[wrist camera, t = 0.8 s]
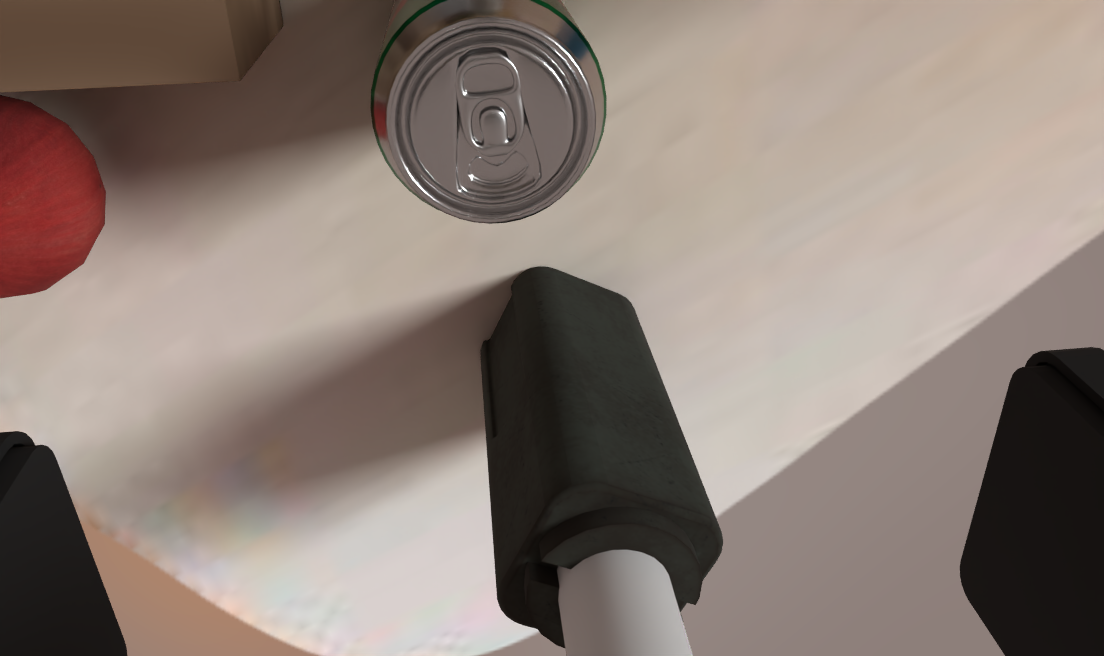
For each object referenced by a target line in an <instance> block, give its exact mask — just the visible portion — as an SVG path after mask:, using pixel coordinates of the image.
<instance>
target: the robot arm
mask: <svg viewBox="0 0 1104 656" xmlns="http://www.w3.org/2000/svg"><path fill="white" fill-rule="evenodd" d="M960 578H961V583H962V586H963V589H964V592H965V594H966V596H967V598H968V600H969V601H970V603H971V605H972V606H973V608H974V609H975V611H976V612H977V614H978V615H979V617H980V618H981V620H982V621H983V623H984V624H985V626H986V627H987V629H988V630H989V632H990V633H991V635H992V636H993V638H994V639H995V641H996V642H997V644H998V645H999V647H1000V648H1001V650H1002V652H1003V653H1004V655H1005V656H1104V350H1102V349H1100V348H1093V347H1089V348H1077V349H1063V350H1051V351H1040V352H1038V353H1035V354H1033V355H1032V356H1031V358H1030V359H1029V360H1028V361H1027V363H1026V365H1025V367H1022V368H1019V369H1017V370H1016V371H1015V372H1014V374H1013V375H1012V378H1011V380H1010V383H1009V387H1008V391H1007V394H1006V398H1005V402H1004V405H1003V409H1002V412H1001V416H1000V420H999V423H998V427H997V431H996V434H995V438H994V441H993V445H992V449H991V453H990V456H989V460H988V463H987V467H986V471H985V474H984V478H983V482H982V486H981V489H980V493H979V497H978V500H977V503H976V507H975V511H974V514H973V518H972V522H971V525H970V529H969V533H968V536H967V540H966V544H965V547H964V551H963V555H962V558H961V564H960ZM0 656H127V649H126V644H125V641H124V638H123V635H122V633H121V630H120V627H119V625H118V622H117V619H116V617H115V614H114V611H113V609H112V606H111V603H110V601H109V598H108V595H107V593H106V590H105V588H104V585H103V582H102V580H101V577H100V574H99V572H98V569H97V566H96V564H95V561H94V558H93V555H92V553H91V550H90V548H89V545H88V542H87V540H86V537H85V534H84V531H83V529H82V526H81V523H80V521H79V518H78V515H77V513H76V510H75V507H74V505H73V502H72V499H71V497H70V494H69V491H68V489H67V486H66V483H65V481H64V478H63V475H62V473H61V470H60V467H59V465H58V462H57V459H56V457H55V455H54V453H53V451H52V450H51V449H50V448H49V447H48V446H44V445H36V446H35V444H34V442H33V440H32V439H31V438H30V437H29V436H28V435H27V434H26V433H23V432H19V431H15V432H2V433H0Z"/></svg>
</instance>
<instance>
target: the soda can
mask: <svg viewBox="0 0 1104 656" xmlns="http://www.w3.org/2000/svg"><path fill="white" fill-rule="evenodd" d="M371 116H372V124H373V129H374V133H375V136H376V140H377V143H378V146H379V148H380V150H381V152H382V155H383V157H384V159H385V161H386V163H387V164H388V165H389V167H390V168H391V170H392V171H393V173H394V174H395V176H396V177H397V178H398V179H399V180H400V181H401V183H402V184H403V185H404V186H405V187H406V188H407V189H408V190H409V191H410V192H412V193H413V194H414V195H415V196H417V197H418V198H419V199H420V200H422V201H423V202H425V203H427V204H429V205H430V206H432V207H434V208H435V209H437V210H440V211H442V212H444V213H446V214H449V215H452V216H454V217H457V218H459V219H463V220H467V221H471V222H478V223H489V224H491V223H506V222H511V221H516V220H521V219H523V218H526V217H529V216H532V215H534V214H536V213H538V212H540V211H542V210H544V209H546V208H547V207H549V206H551V205H552V204H553V203H554V202H556V201H557V200H558V199H560V198H561V197H562V196H563V195H564V194H565V193H567V192H568V191H569V190H570V189H571V188H572V187H573V186H574V185H575V184H576V183H577V182H578V181H579V179H580V178H581V177H582V175H583V174H584V173H585V171H586V170H587V168H588V167H589V166H590V164H591V162H592V160H593V158H594V156H595V154H596V152H597V150H598V147H599V144H600V141H601V138H602V135H603V132H604V126H605V119H606V91H605V84H604V78H603V75H602V72H601V69H600V66H599V62H598V60H597V58H596V56H595V54H594V52H593V50H592V48H591V46H590V44H589V42H588V41H587V39H586V38H585V36H584V35H583V33H582V32H581V30H580V29H579V27H578V26H577V24H576V23H575V21H574V20H573V18H572V17H571V15H570V13H569V12H568V10H567V9H566V7H565V6H564V4H563V3H562V1H561V0H395V1H394V4H393V8H392V12H391V15H390V19H389V23H388V26H387V30H386V33H385V37H384V41H383V44H382V48H381V52H380V55H379V59H378V63H377V66H376V70H375V74H374V79H373V84H372V89H371Z"/></svg>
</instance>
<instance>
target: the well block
mask: <svg viewBox="0 0 1104 656" xmlns="http://www.w3.org/2000/svg"><path fill="white" fill-rule="evenodd" d="M282 27H283V19H282V13H281V7H280V1H279V0H0V92H21V91H42V90H62V89H83V88H104V87H124V86H145V85H166V84H186V83H207V82H228V81H240V80H241V79H242V78H243V76H244V75H245V74H246V73H247V71H248V70H249V69H250V68H251V66H252V65H253V64H254V62H255V61H256V60H257V59H258V57H259V56H260V55H261V54H262V52H263V51H264V50H265V48H266V47H267V46H268V45H269V43H270V42H271V41H272V40H273V38H274V37H275V36H276V34H277V33H278V32H279V31H280V29H281V28H282Z"/></svg>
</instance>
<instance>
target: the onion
mask: <svg viewBox="0 0 1104 656" xmlns="http://www.w3.org/2000/svg"><path fill="white" fill-rule="evenodd" d="M105 199H106V191H105V188H104V185H103V182H102V180H101V177H100V174H99V171H98V168H97V165H96V162H95V159H94V157H93V155H92V154H91V153H90V152H89V150H88V149H87V148H86V147H85V145H84V144H83V143H82V142H81V140H80V139H79V138H78V137H77V135H76V134H75V133H74V132H73V130H72V129H71V128H70V127H69V125H68V124H66V123H64V122H63V121H61V120H59V119H58V118H56V117H54V116H53V115H51V114H49V113H48V112H46V111H44V110H43V109H41V108H39V107H38V106H36V105H34V104H33V103H31V102H28V101H24V100H19V99H15V98H11V97H7V96H2V95H0V298H5V297H12V296H19V295H26V294H33V293H37V292H40V291H44V290H46V289H48V288H49V287H51V286H52V285H54V284H55V283H56V282H58V281H59V280H61V279H62V278H64V277H65V276H66V275H68V274H69V273H71V272H72V271H74V270H75V269H76V268H78V267H79V266H81V265H82V264H84V262H85V260H86V258H87V256H88V254H89V252H90V250H91V249H92V247H93V245H94V243H95V241H96V239H97V237H98V235H99V233H100V232H101V230H102V228H103V226H104V224H105Z"/></svg>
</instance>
